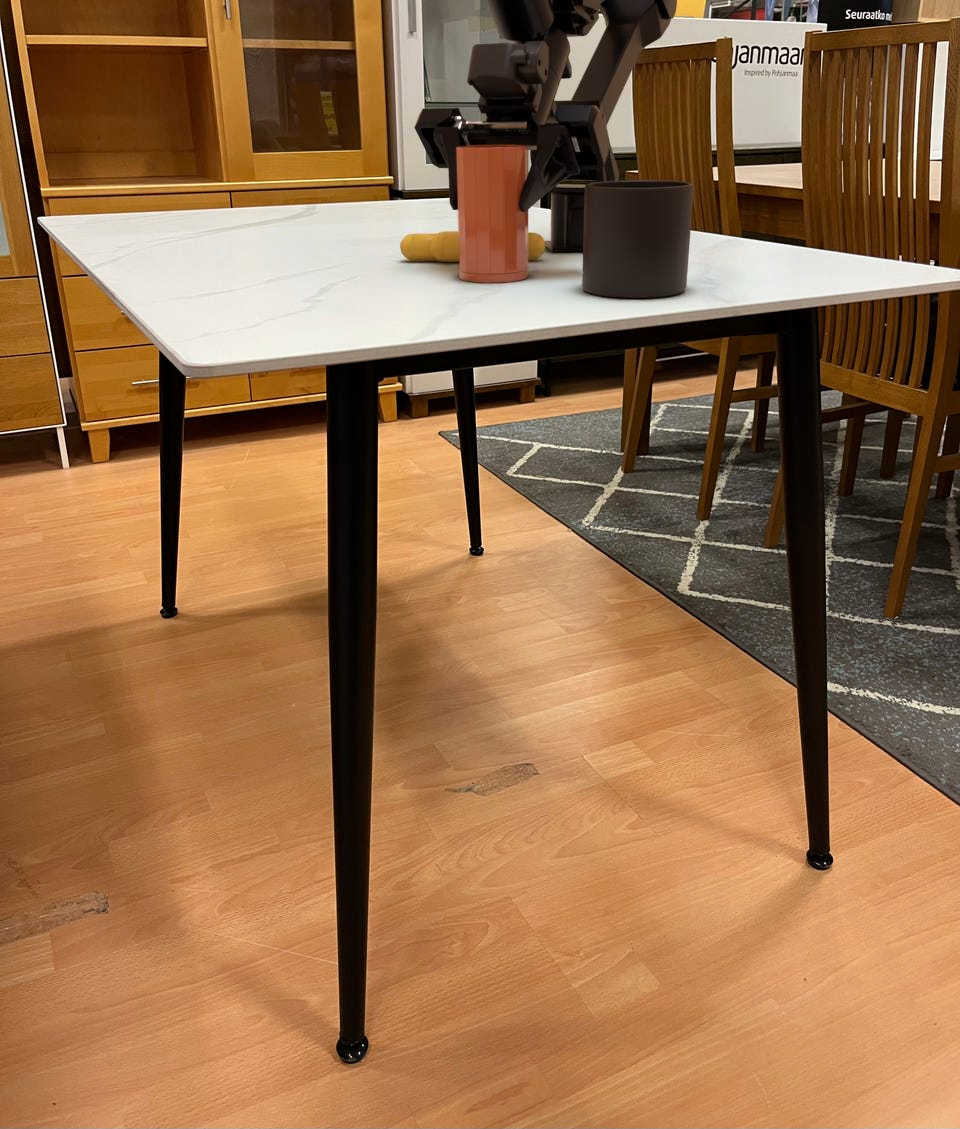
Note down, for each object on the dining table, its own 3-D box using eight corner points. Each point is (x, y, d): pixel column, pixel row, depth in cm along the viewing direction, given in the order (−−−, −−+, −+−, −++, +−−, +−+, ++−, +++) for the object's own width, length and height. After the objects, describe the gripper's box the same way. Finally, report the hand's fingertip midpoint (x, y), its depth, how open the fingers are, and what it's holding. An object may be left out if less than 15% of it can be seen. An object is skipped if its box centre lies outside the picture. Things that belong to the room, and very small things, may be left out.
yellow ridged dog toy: (397, 264, 105) (395, 233, 103) (402, 259, 108) (400, 229, 107) (544, 263, 104) (545, 232, 102) (545, 258, 107) (545, 228, 106)
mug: (675, 276, 94) (682, 177, 90) (693, 298, 83) (701, 187, 79) (579, 277, 95) (581, 178, 91) (584, 299, 84) (587, 188, 80)
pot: (456, 272, 99) (453, 145, 93) (522, 270, 99) (522, 143, 94) (462, 283, 92) (459, 148, 87) (532, 281, 93) (533, 146, 88)
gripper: (418, 15, 92) (367, 146, 88) (603, 4, 85) (557, 145, 81) (457, 105, 102) (412, 226, 98) (626, 102, 95) (585, 232, 91)
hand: (486, 208), depth 92 cm, fingers closed on pot, 7 cm apart
